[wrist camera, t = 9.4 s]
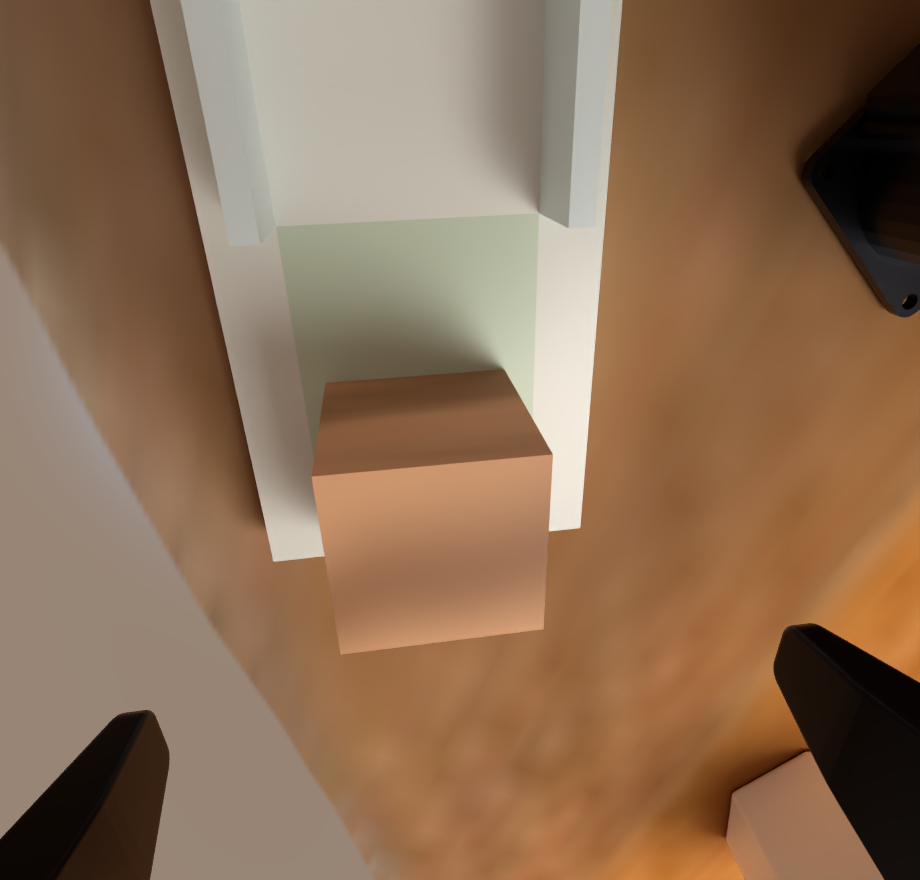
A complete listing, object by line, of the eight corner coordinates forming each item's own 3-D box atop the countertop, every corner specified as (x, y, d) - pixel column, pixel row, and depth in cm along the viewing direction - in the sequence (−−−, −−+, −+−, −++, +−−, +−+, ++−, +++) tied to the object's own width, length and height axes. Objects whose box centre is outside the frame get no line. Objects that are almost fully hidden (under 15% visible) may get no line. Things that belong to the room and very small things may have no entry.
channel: (9, -761, 9) (-217, -1322, 6) (645, -684, 10) (793, -1110, 7) (279, 533, 20) (261, 618, 17) (566, 503, 21) (606, 577, 18)
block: (325, 383, 16) (311, 476, 12) (504, 369, 17) (553, 454, 13) (345, 531, 19) (340, 654, 14) (502, 515, 19) (543, 629, 15)
